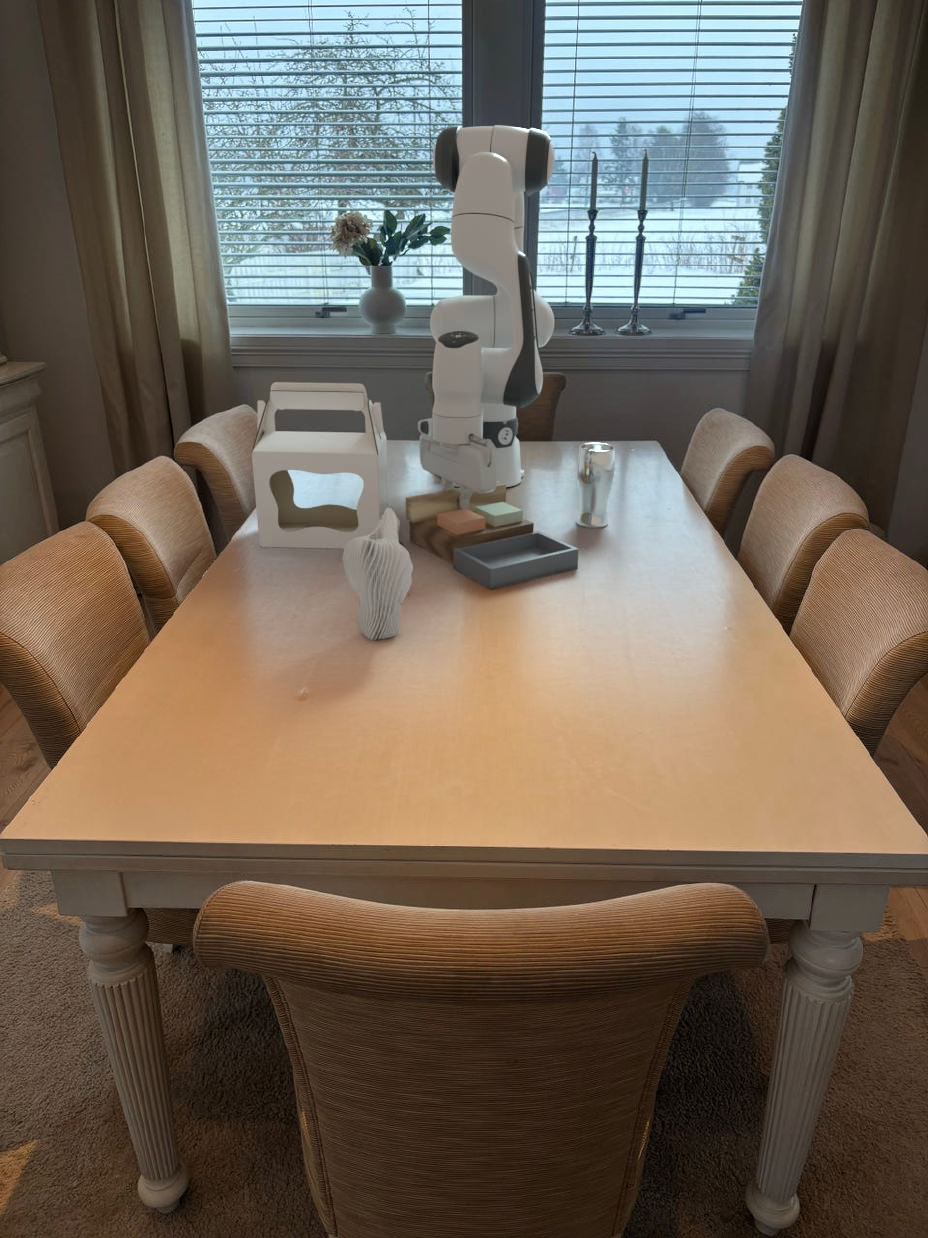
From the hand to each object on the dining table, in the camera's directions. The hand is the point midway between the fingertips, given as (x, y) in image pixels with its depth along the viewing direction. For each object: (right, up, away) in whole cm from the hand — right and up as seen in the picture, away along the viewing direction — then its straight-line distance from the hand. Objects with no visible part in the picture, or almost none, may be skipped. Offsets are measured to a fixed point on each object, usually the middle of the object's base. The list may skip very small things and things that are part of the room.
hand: (457, 504), depth 169 cm
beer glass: (+26, -2, +11) cm, 29 cm away
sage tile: (+7, -3, -3) cm, 9 cm away
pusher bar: (0, -1, +1) cm, 1 cm away
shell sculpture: (-11, -23, -36) cm, 44 cm away
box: (+10, -12, -11) cm, 19 cm away
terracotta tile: (+1, -5, -7) cm, 9 cm away
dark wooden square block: (+2, -7, -1) cm, 8 cm away
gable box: (-24, -6, +3) cm, 25 cm away
